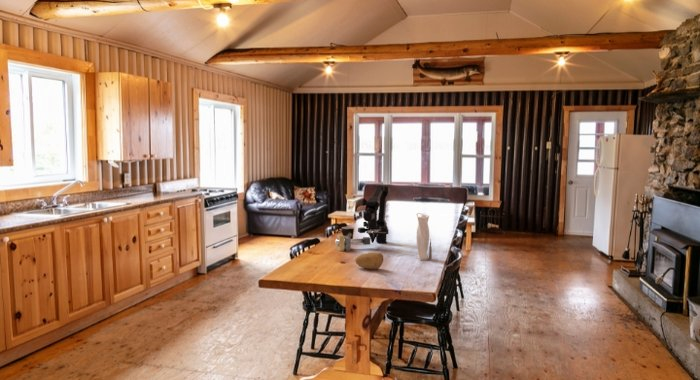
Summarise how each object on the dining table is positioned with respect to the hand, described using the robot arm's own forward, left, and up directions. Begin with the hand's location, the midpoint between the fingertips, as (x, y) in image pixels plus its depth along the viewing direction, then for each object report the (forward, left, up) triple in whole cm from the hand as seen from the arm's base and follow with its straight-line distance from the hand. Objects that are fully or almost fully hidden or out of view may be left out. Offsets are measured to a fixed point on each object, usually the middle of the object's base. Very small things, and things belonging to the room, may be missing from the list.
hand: (372, 242), depth 306 cm
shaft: (+13, 0, -1) cm, 13 cm away
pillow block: (+17, 0, -4) cm, 18 cm away
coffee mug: (+13, -23, -4) cm, 27 cm away
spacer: (+21, 0, -4) cm, 22 cm away
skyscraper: (-21, +35, -4) cm, 41 cm away
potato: (+16, +49, -4) cm, 52 cm away
